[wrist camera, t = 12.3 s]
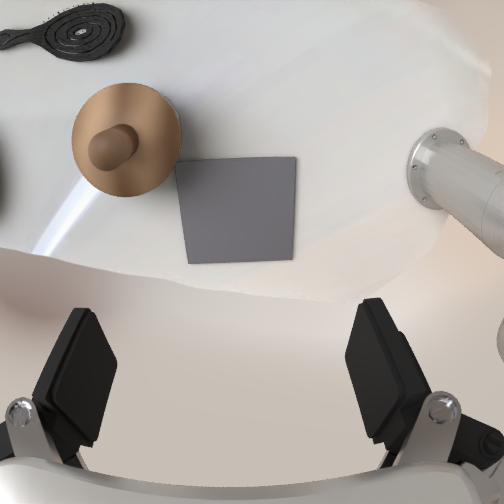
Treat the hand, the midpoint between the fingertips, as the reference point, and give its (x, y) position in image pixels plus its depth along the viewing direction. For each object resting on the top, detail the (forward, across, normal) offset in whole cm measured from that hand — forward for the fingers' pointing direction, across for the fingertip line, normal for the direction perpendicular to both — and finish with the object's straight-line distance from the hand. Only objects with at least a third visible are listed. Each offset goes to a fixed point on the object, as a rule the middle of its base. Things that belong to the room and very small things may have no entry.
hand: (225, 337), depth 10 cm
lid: (+25, +12, -3) cm, 28 cm away
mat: (+30, 0, +9) cm, 32 cm away
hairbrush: (+31, +24, -20) cm, 44 cm away
